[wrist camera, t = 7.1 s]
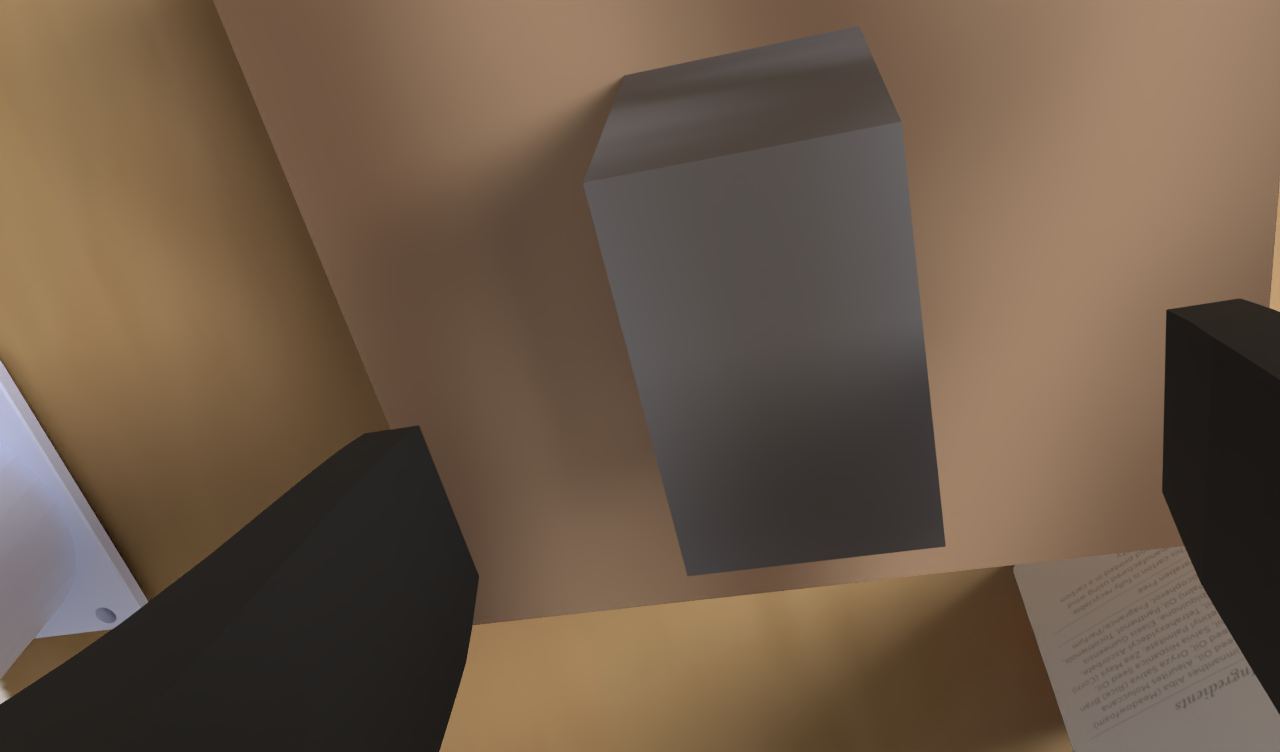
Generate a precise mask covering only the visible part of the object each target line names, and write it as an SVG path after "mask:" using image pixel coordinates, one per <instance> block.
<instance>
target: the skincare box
mask: <svg viewBox="0 0 1280 752" xmlns="http://www.w3.org/2000/svg"><path fill="white" fill-rule="evenodd" d="M1013 572H1014V576H1015V578H1016V581H1017V584H1018V587H1019V590H1020V593H1021V596H1022V599H1023V602H1024V605H1025V608H1026V612H1027V615H1028V618H1029V621H1030V623H1031V626H1032V629H1033V631H1034V634H1035V637H1036V641H1037V644H1038V647H1039V650H1040V653H1041V656H1042V659H1043V661H1044V664H1045V667H1046V670H1047V673H1048V676H1049V679H1050V682H1051V685H1052V688H1053V691H1054V694H1055V697H1056V700H1057V703H1058V706H1059V709H1060V712H1061V715H1062V718H1063V721H1064V724H1065V727H1066V731H1067V734H1068V736H1069V739H1070V742H1071V744H1072V748H1073V751H1074V752H1280V715H1279V713H1278V711H1277V710H1276V708H1275V706H1274V705H1273V703H1272V701H1271V700H1270V698H1269V697H1268V695H1267V693H1266V692H1265V690H1264V688H1263V687H1262V685H1261V683H1260V682H1259V680H1258V678H1257V677H1256V675H1255V674H1254V672H1253V670H1252V669H1251V667H1250V665H1249V664H1248V662H1247V660H1246V659H1245V657H1244V655H1243V654H1242V652H1241V650H1240V649H1239V647H1238V645H1237V644H1236V642H1235V640H1234V639H1233V637H1232V635H1231V634H1230V632H1229V630H1228V629H1227V627H1226V625H1225V624H1224V622H1223V620H1222V619H1221V617H1220V615H1219V614H1218V612H1217V610H1216V609H1215V607H1214V605H1213V604H1212V602H1211V600H1210V598H1209V597H1208V595H1207V593H1206V591H1205V590H1204V588H1203V586H1202V585H1201V583H1200V580H1199V578H1198V576H1197V574H1196V571H1195V569H1194V567H1193V565H1192V562H1191V560H1190V558H1189V555H1188V553H1187V551H1186V549H1185V546H1181V547H1172V548H1163V549H1154V550H1145V551H1136V552H1127V553H1118V554H1109V555H1100V556H1091V557H1081V558H1072V559H1063V560H1054V561H1045V562H1036V563H1027V564H1018V565H1015V566H1014V568H1013Z"/></svg>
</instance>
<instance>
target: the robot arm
mask: <svg viewBox="0 0 1280 752" xmlns="http://www.w3.org/2000/svg"><path fill="white" fill-rule="evenodd" d="M1162 493H1163V495H1164V498H1165V500H1166V503H1167V505H1168V508H1169V510H1170V512H1171V515H1172V517H1173V520H1174V522H1175V525H1176V527H1177V530H1178V532H1179V534H1180V537H1181V539H1182V542H1183V544H1184V546H1185V549H1186V551H1187V553H1188V555H1189V558H1190V560H1191V562H1192V565H1193V567H1194V569H1195V571H1196V574H1197V576H1198V578H1199V580H1200V583H1201V585H1202V586H1203V588H1204V590H1205V591H1206V593H1207V595H1208V597H1209V598H1210V600H1211V602H1212V604H1213V605H1214V607H1215V609H1216V610H1217V612H1218V614H1219V615H1220V617H1221V619H1222V620H1223V622H1224V624H1225V625H1226V627H1227V629H1228V630H1229V632H1230V634H1231V635H1232V637H1233V639H1234V640H1235V642H1236V644H1237V645H1238V647H1239V649H1240V650H1241V652H1242V654H1243V655H1244V657H1245V659H1246V660H1247V662H1248V664H1249V665H1250V667H1251V669H1252V670H1253V672H1254V674H1255V675H1256V677H1257V678H1258V680H1259V682H1260V683H1261V685H1262V687H1263V688H1264V690H1265V692H1266V693H1267V695H1268V697H1269V698H1270V700H1271V701H1272V703H1273V705H1274V706H1275V708H1276V710H1277V711H1278V713H1279V715H1280V312H1278V311H1275V310H1273V309H1270V308H1268V307H1265V306H1262V305H1259V304H1256V303H1253V302H1250V301H1247V300H1244V299H1241V298H1239V299H1232V300H1226V301H1219V302H1213V303H1206V304H1200V305H1193V306H1187V307H1180V308H1174V309H1167V310H1166V344H1165V387H1164V430H1163V473H1162ZM478 582H479V574H478V572H477V569H476V567H475V564H474V562H473V559H472V557H471V554H470V552H469V549H468V547H467V544H466V542H465V539H464V537H463V534H462V532H461V529H460V527H459V524H458V522H457V519H456V517H455V514H454V512H453V509H452V507H451V504H450V502H449V499H448V497H447V494H446V492H445V489H444V487H443V484H442V482H441V479H440V477H439V474H438V472H437V469H436V467H435V464H434V461H433V459H432V456H431V454H430V451H429V449H428V446H427V444H426V441H425V439H424V436H423V434H422V431H421V429H420V426H419V425H418V426H411V427H405V428H398V429H392V430H385V431H379V432H372V433H366V434H364V435H362V436H360V437H359V438H357V439H356V440H354V441H353V442H351V443H349V444H348V445H346V446H345V447H344V448H342V449H341V450H339V451H338V452H337V453H335V454H334V455H333V456H331V457H330V458H329V459H327V460H326V461H325V462H324V463H322V464H321V465H320V466H318V467H317V468H316V469H315V470H313V471H312V472H311V473H310V474H308V475H307V476H306V477H305V478H303V479H302V480H301V481H300V482H298V483H297V484H296V485H295V486H294V487H292V488H291V489H290V490H289V491H287V492H286V493H285V494H284V495H283V496H281V497H280V498H279V499H278V500H277V501H275V502H274V503H273V504H272V505H270V506H269V507H268V508H267V509H266V510H264V511H263V512H262V513H261V514H259V515H258V516H257V517H256V518H255V519H253V520H252V521H251V522H250V523H248V524H247V525H246V526H245V527H244V528H242V529H241V530H240V531H239V532H237V533H236V534H235V535H234V536H233V537H231V538H230V539H229V540H228V541H226V542H225V543H224V544H223V545H222V546H220V547H219V548H218V549H217V550H215V551H214V552H213V553H212V554H210V555H209V556H208V557H207V558H205V559H204V560H203V561H201V562H200V563H199V564H197V565H196V566H195V567H194V568H192V569H191V570H190V571H188V572H187V573H186V574H184V575H183V576H182V577H181V578H179V579H178V580H177V581H175V582H174V583H173V584H171V585H170V586H169V587H167V588H166V589H165V590H164V591H162V592H161V593H160V594H158V595H157V596H156V597H154V598H153V599H152V600H151V601H149V602H148V600H147V598H146V597H145V595H144V594H143V592H142V590H141V589H140V587H139V585H138V584H137V582H136V580H135V579H134V577H133V576H132V574H131V572H130V571H129V569H128V567H127V566H126V564H125V563H124V561H123V559H122V558H121V556H120V554H119V553H118V551H117V550H116V548H115V546H114V545H113V543H112V541H111V540H110V538H109V536H108V535H107V533H106V532H105V530H104V528H103V527H102V525H101V523H100V522H99V520H98V519H97V517H96V515H95V514H94V512H93V510H92V509H91V507H90V505H89V504H88V502H87V501H86V499H85V497H84V496H83V494H82V492H81V491H80V489H79V488H78V486H77V484H76V483H75V481H74V479H73V478H72V476H71V474H70V473H69V471H68V470H67V468H66V466H65V465H64V463H63V461H62V460H61V458H60V457H59V455H58V453H57V452H56V450H55V448H54V447H53V445H52V444H51V442H50V440H49V439H48V437H47V435H46V434H45V432H44V430H43V429H42V427H41V426H40V424H39V422H38V421H37V419H36V417H35V416H34V414H33V413H32V411H31V409H30V408H29V406H28V404H27V403H26V401H25V399H24V398H23V396H22V395H21V393H20V391H19V390H18V388H17V386H16V385H15V383H14V382H13V380H12V378H11V377H10V375H9V373H8V372H7V370H6V369H5V367H4V365H3V364H2V362H1V361H0V679H1V678H2V677H3V676H4V674H5V673H6V672H7V671H8V669H9V668H10V667H11V666H12V665H13V663H14V662H15V661H16V660H17V658H18V657H19V656H20V655H21V654H22V652H23V651H24V650H25V649H26V647H27V646H28V645H29V644H30V642H31V641H32V640H33V639H35V638H44V637H52V636H60V635H68V634H77V633H85V632H93V631H102V630H110V629H112V630H111V631H109V632H108V633H106V634H105V635H104V636H102V637H101V638H100V639H98V640H97V641H95V642H94V643H92V644H91V645H89V646H88V647H87V648H85V649H84V650H82V651H81V652H79V653H78V654H76V655H75V656H74V657H72V658H71V659H69V660H68V661H66V662H65V663H63V664H62V665H60V666H59V667H57V668H56V669H54V670H52V671H51V672H49V673H48V674H46V675H45V676H43V677H42V678H40V679H39V680H37V681H36V682H34V683H33V684H31V685H30V686H28V687H27V688H25V689H23V690H22V691H20V692H19V693H17V694H16V695H14V696H13V697H11V698H10V699H8V700H6V701H5V702H3V703H2V704H0V752H439V750H440V747H441V744H442V741H443V738H444V734H445V731H446V728H447V725H448V721H449V718H450V715H451V711H452V708H453V705H454V701H455V698H456V695H457V691H458V688H459V685H460V681H461V678H462V674H463V671H464V667H465V664H466V659H467V653H468V647H469V642H470V636H471V630H472V625H473V618H474V611H475V603H476V596H477V589H478ZM111 610H112V611H111Z"/></svg>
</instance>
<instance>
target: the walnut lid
mask: <svg viewBox="0 0 1280 752" xmlns="http://www.w3.org/2000/svg"><path fill="white" fill-rule="evenodd" d="M213 2H214V5H215V7H216V9H217V12H218V14H219V17H220V19H221V22H222V24H223V26H224V29H225V31H226V34H227V36H228V38H229V41H230V43H231V46H232V48H233V51H234V53H235V55H236V58H237V60H238V63H239V65H240V67H241V70H242V72H243V75H244V77H245V80H246V82H247V84H248V87H249V89H250V92H251V94H252V97H253V99H254V101H255V104H256V106H257V109H258V111H259V113H260V116H261V118H262V121H263V123H264V126H265V128H266V130H267V133H268V135H269V138H270V140H271V143H272V145H273V147H274V150H275V152H276V155H277V157H278V159H279V162H280V164H281V167H282V169H283V172H284V174H285V176H286V179H287V181H288V184H289V186H290V189H291V191H292V193H293V196H294V198H295V201H296V203H297V205H298V208H299V210H300V213H301V215H302V218H303V220H304V222H305V225H306V227H307V230H308V232H309V234H310V237H311V239H312V242H313V244H314V247H315V249H316V251H317V254H318V256H319V259H320V261H321V264H322V266H323V268H324V271H325V273H326V276H327V278H328V280H329V283H330V285H331V288H332V290H333V293H334V295H335V297H336V300H337V302H338V305H339V307H340V310H341V312H342V314H343V317H344V319H345V322H346V324H347V326H348V329H349V331H350V334H351V336H352V339H353V341H354V343H355V346H356V348H357V351H358V353H359V356H360V358H361V360H362V363H363V365H364V368H365V370H366V372H367V375H368V377H369V380H370V382H371V385H372V387H373V389H374V392H375V394H376V397H377V399H378V401H379V404H380V406H381V409H382V411H383V414H384V416H385V418H386V421H387V423H388V426H389V428H390V430H392V429H398V428H405V427H411V426H418V425H419V426H420V429H421V431H422V434H423V436H424V439H425V441H426V444H427V446H428V449H429V451H430V454H431V456H432V459H433V461H434V464H435V467H436V469H437V472H438V474H439V477H440V479H441V482H442V484H443V487H444V489H445V492H446V494H447V497H448V499H449V502H450V504H451V507H452V509H453V512H454V514H455V517H456V519H457V522H458V524H459V527H460V529H461V532H462V534H463V537H464V539H465V542H466V544H467V547H468V549H469V552H470V554H471V557H472V559H473V562H474V564H475V567H476V569H477V572H478V574H479V582H478V589H477V596H476V603H475V611H474V618H473V625H478V624H487V623H496V622H505V621H514V620H523V619H532V618H541V617H550V616H559V615H568V614H577V613H586V612H595V611H604V610H613V609H622V608H631V607H640V606H649V605H658V604H667V603H676V602H685V601H694V600H703V599H712V598H721V597H730V596H739V595H748V594H757V593H766V592H775V591H784V590H793V589H802V588H811V587H820V586H829V585H838V584H847V583H856V582H865V581H874V580H883V579H892V578H901V577H910V576H919V575H928V574H937V573H946V572H955V571H964V570H973V569H982V568H991V567H1000V566H1009V565H1018V564H1027V563H1036V562H1045V561H1054V560H1063V559H1072V558H1081V557H1091V556H1100V555H1109V554H1118V553H1127V552H1136V551H1145V550H1154V549H1163V548H1172V547H1181V546H1184V544H1183V542H1182V539H1181V537H1180V534H1179V532H1178V530H1177V527H1176V525H1175V522H1174V520H1173V517H1172V515H1171V512H1170V510H1169V508H1168V505H1167V503H1166V500H1165V498H1164V495H1163V493H1162V473H1163V430H1164V387H1165V344H1166V310H1167V309H1174V308H1180V307H1187V306H1193V305H1200V304H1206V303H1213V302H1219V301H1226V300H1232V299H1239V298H1241V299H1244V300H1247V301H1250V302H1253V303H1256V304H1259V305H1262V306H1265V307H1268V308H1269V305H1270V292H1271V280H1272V268H1273V255H1274V243H1275V231H1276V218H1277V206H1278V194H1279V181H1280V0H213Z"/></svg>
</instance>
